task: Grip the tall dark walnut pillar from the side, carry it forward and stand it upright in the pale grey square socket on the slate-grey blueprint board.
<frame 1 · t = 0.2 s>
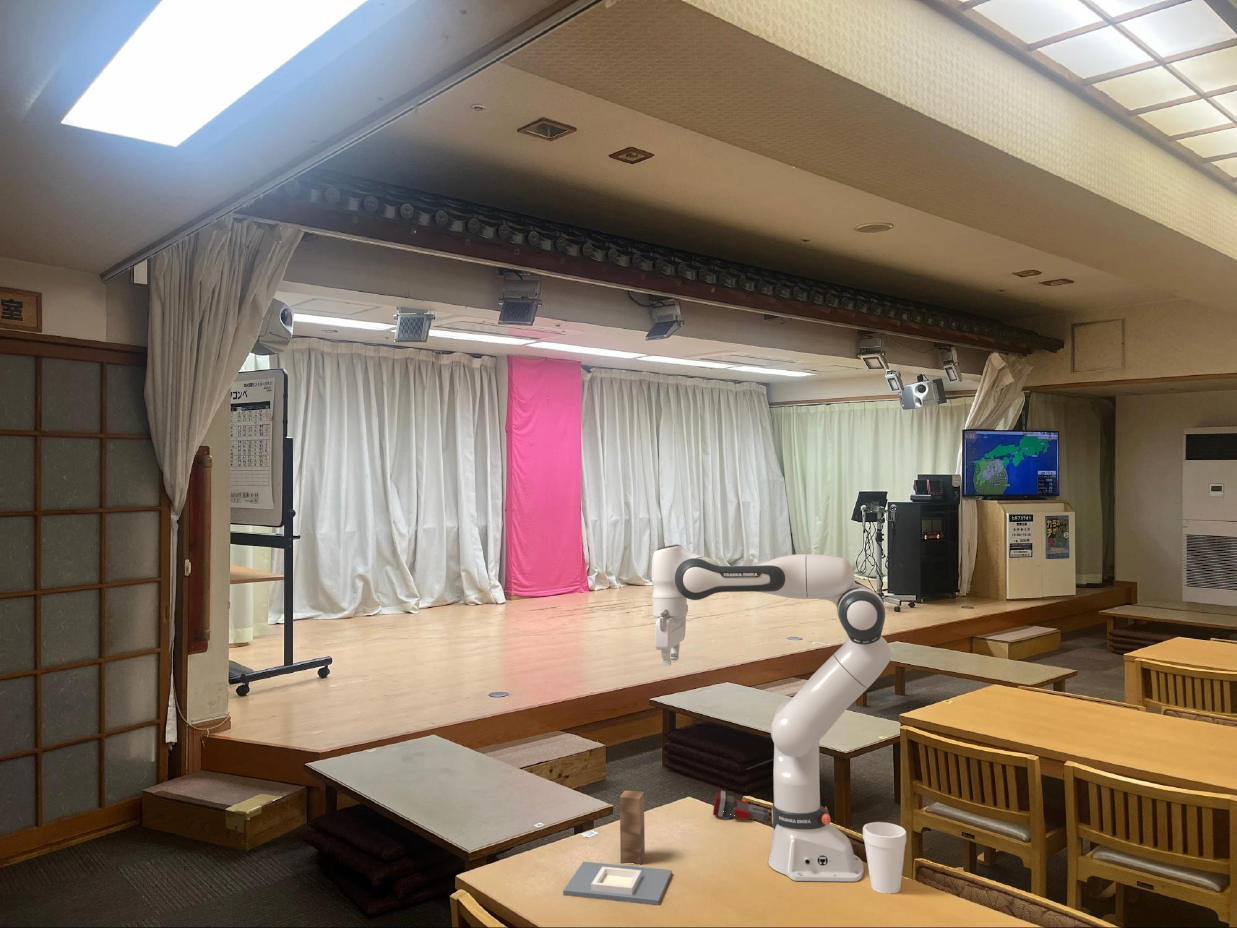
hand: (671, 663, 218), 48 cm above the table, tool pointing down, fingers open, 8 cm apart
board: (618, 884, 199), on the table
socket: (616, 887, 197), resting on board
pillar: (632, 859, 212), on the table
toy: (740, 818, 241), on the table
foam cup: (885, 888, 196), on the table
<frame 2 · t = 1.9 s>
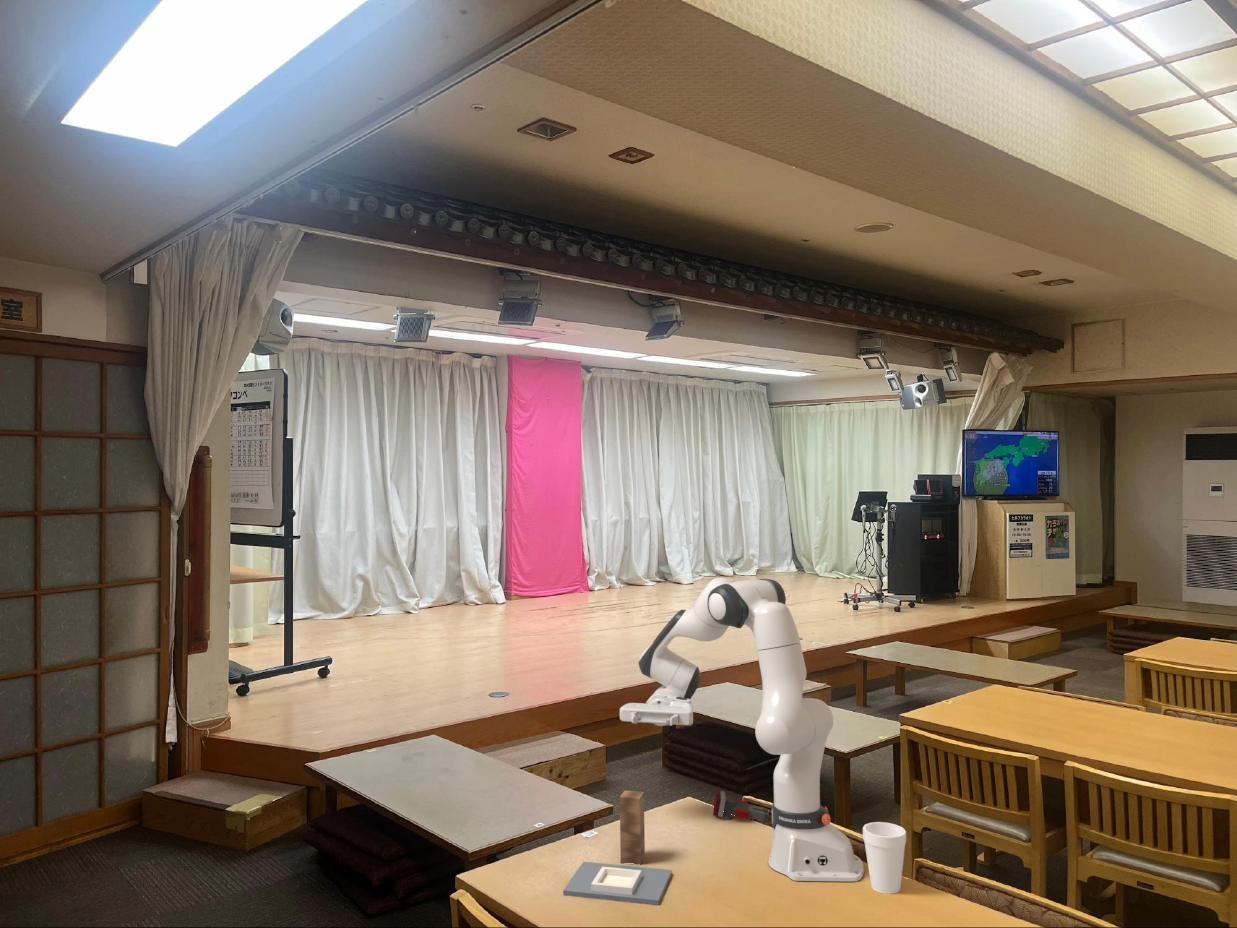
hand: (651, 721, 228), 30 cm above the table, tool horizontal, fingers open, 8 cm apart
nothing on the table moved.
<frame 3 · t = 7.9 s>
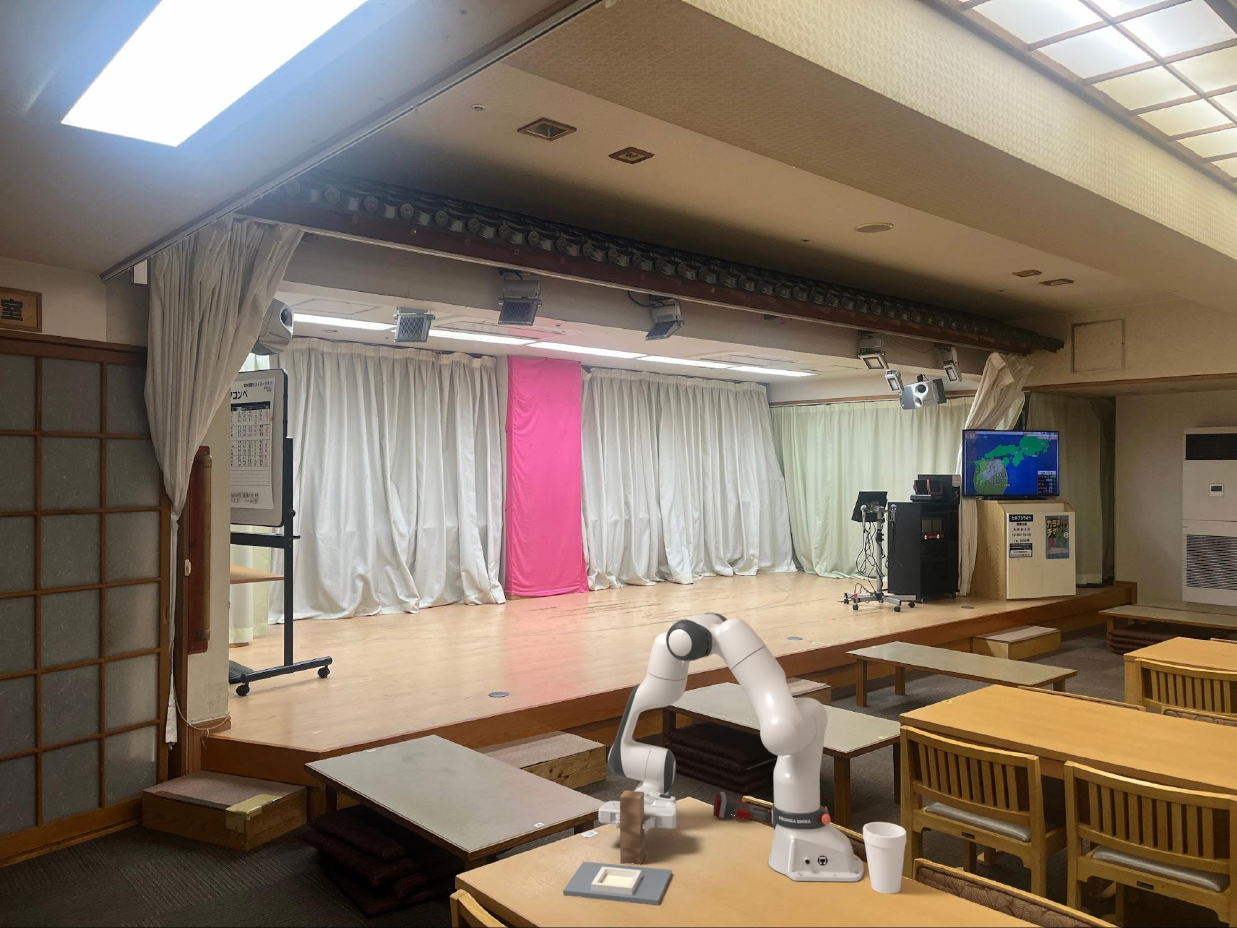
hand: (631, 826, 212), 9 cm above the table, tool horizontal, fingers closed on pillar, 5 cm apart
pillar: (632, 859, 212), on the table, touching gripper
everything else where it was.
when the fingers open (11 cm above the table, at t = 13.8 s): pillar drops 1 cm, resting on socket.
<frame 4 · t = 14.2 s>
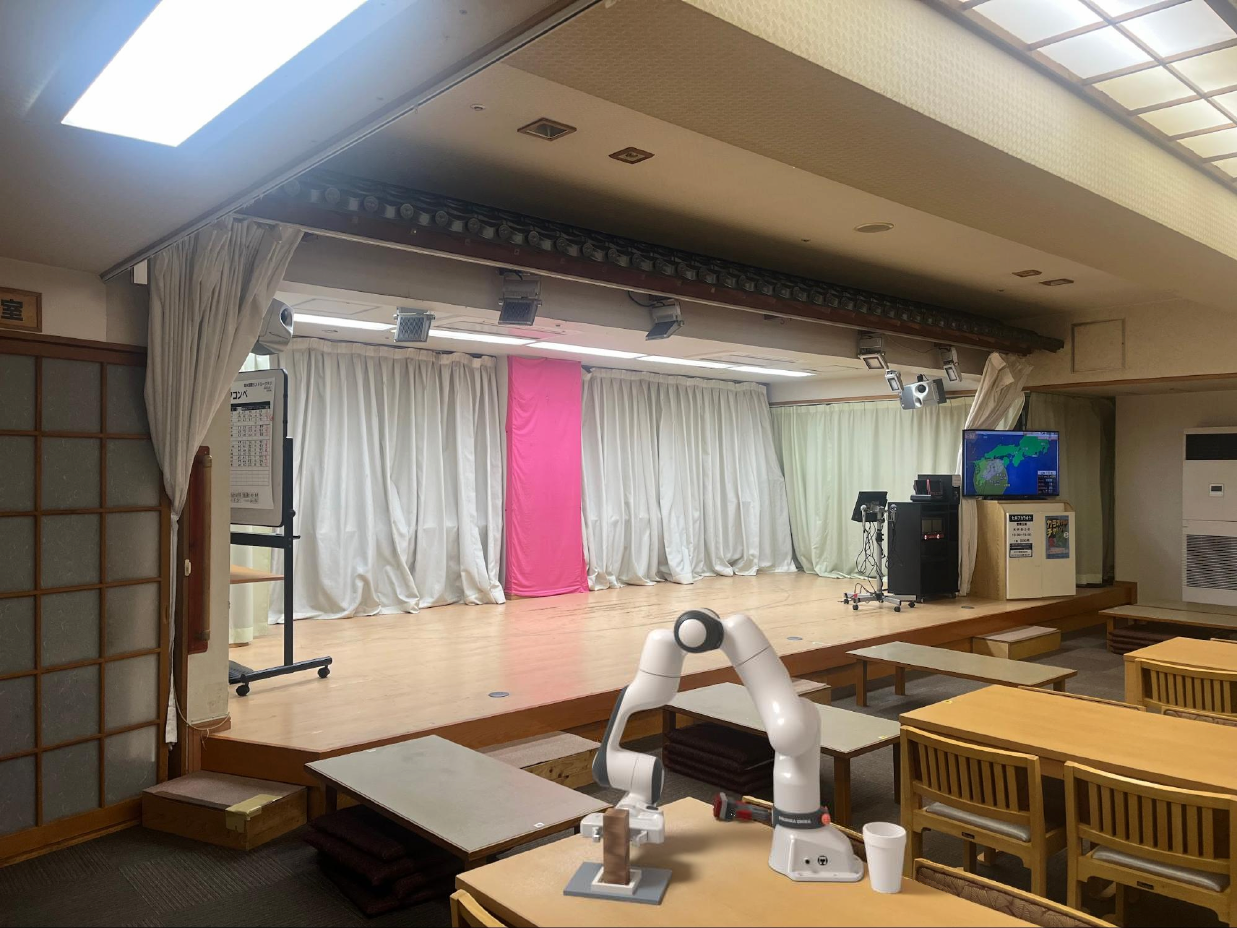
hand: (615, 840, 197), 11 cm above the table, tool horizontal, fingers open, 8 cm apart
pillar: (617, 883, 197), point 1 cm above the table, touching socket
everything else where it was.
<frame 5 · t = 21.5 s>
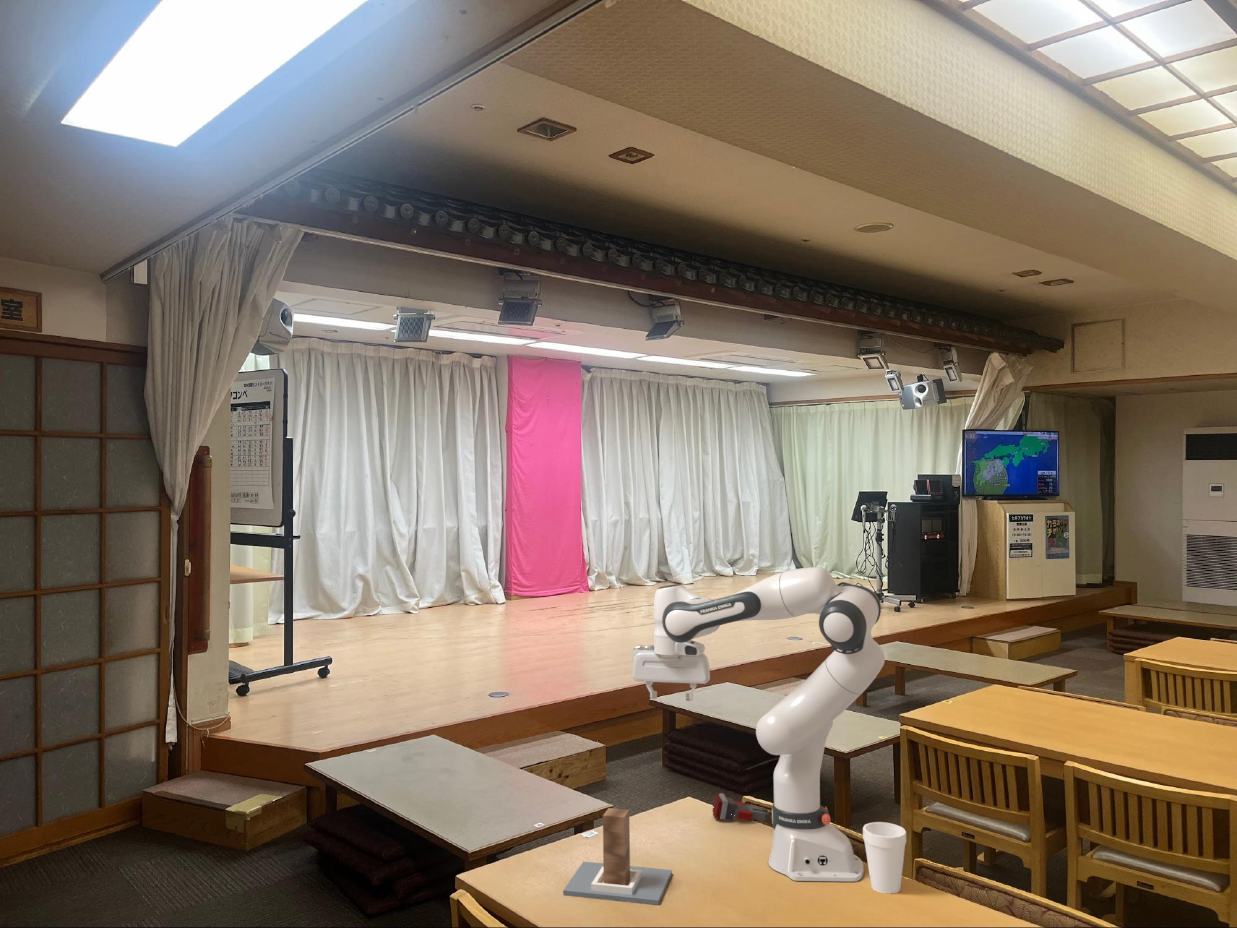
hand: (671, 699, 224), 37 cm above the table, tool pointing down, fingers open, 8 cm apart
at the end: pillar 0.1 cm off-centre on the socket, point 1.1 cm above the socket's base; pillar tilted 0°; the gripper is holding nothing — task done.
